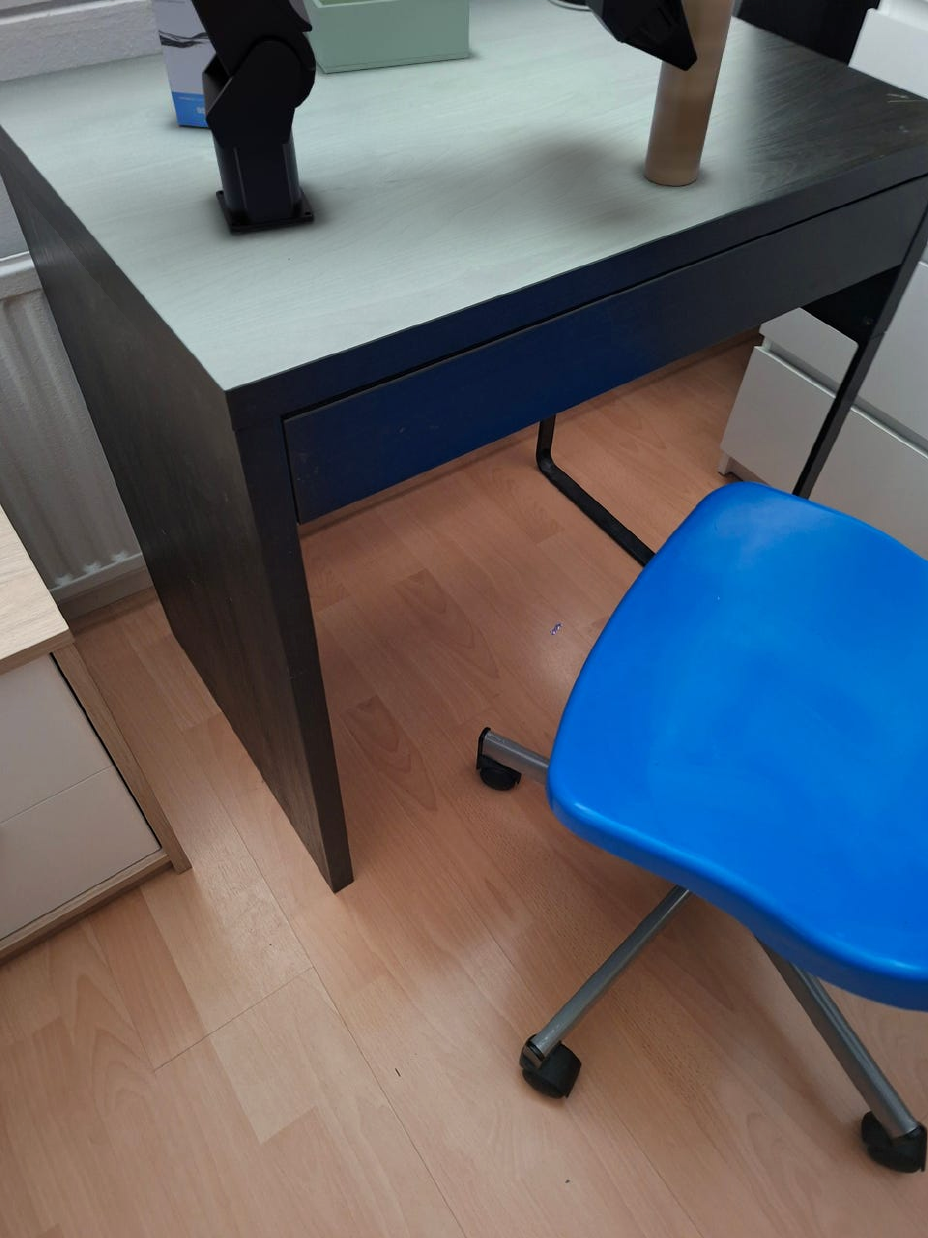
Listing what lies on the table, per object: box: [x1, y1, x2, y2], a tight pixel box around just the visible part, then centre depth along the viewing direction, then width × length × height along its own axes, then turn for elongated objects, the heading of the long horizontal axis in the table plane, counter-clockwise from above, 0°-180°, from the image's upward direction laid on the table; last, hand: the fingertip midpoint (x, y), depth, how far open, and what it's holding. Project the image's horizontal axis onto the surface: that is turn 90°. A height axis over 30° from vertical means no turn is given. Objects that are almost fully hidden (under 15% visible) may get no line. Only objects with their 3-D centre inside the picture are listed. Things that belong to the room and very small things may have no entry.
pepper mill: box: [643, 0, 736, 187], centre depth 65 cm, size 4×4×15 cm
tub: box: [303, 0, 470, 74], centre depth 88 cm, size 15×15×6 cm
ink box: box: [150, 0, 216, 128], centre depth 73 cm, size 8×5×12 cm, turn 168°
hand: (667, 43), depth 63 cm, fingers open, 9 cm apart
